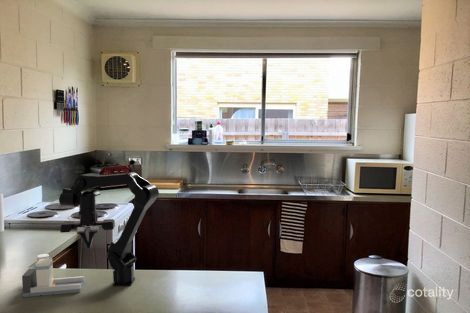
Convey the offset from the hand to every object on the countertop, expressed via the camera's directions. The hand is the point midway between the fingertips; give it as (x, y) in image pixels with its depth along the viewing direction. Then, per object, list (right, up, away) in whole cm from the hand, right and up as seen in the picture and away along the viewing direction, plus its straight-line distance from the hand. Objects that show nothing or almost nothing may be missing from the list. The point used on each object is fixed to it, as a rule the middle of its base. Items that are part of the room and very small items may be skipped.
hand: (89, 247), depth 145 cm
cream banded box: (-12, -11, -9) cm, 19 cm away
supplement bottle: (-17, -13, 0) cm, 21 cm away
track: (-9, -13, -9) cm, 18 cm away
